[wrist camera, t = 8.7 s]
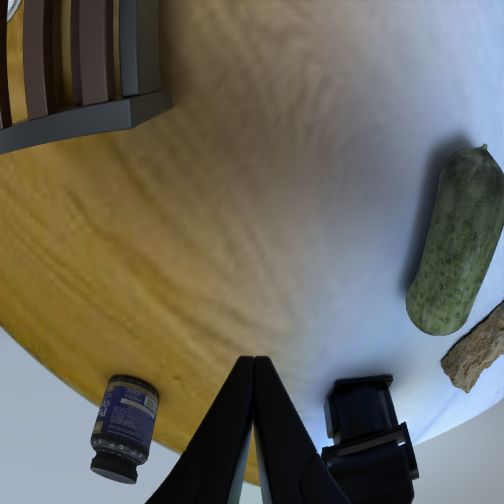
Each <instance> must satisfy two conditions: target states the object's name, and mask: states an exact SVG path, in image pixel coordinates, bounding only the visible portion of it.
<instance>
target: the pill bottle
mask: <svg viewBox="0 0 504 504" xmlns="http://www.w3.org/2000/svg"><path fill="white" fill-rule="evenodd" d="M158 405H159V397H158V394H157V393H156V391H155V390H154V389H153V388H151V387H150V386H149V385H147V384H146V383H144V382H141V381H139V380H136V379H133V378H130V377H123V376H120V377H115V378H112V379H111V380H110V381H109V382H108V385H107V388H106V391H105V394H104V397H103V400H102V403H101V406H100V410H99V413H98V416H97V419H96V423H95V426H94V430H93V433H92V436H91V445H92V447H93V449H94V450H95V451H96V456H95V457H94V458H93V459H92V463H91V467H90V469H91V470H92V471H93V472H95V473H97V474H99V475H101V476H103V477H105V478H108V479H111V480H114V481H117V482H121V483H126V484H135V483H136V481H137V476H138V474H137V471H136V467H137V466H138V465H142V464H144V463H145V462H146V461H147V459H148V456H149V449H150V444H151V440H152V434H153V428H154V424H155V419H156V416H157V409H158Z"/></svg>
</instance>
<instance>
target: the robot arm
mask: <svg viewBox="0 0 504 504" xmlns="http://www.w3.org/2000/svg"><path fill="white" fill-rule="evenodd" d="M392 381H393V377H392V376H391V375H388V376H380V377H372V378H363V379H353V380H342V381H337V382H335V383H334V385H333V388H332V391H331V394H330V395H329V396H328V397H327V400H326V402H325V405H324V413H325V420H326V428H327V436H328V438H333V442H334V446H330V447H328V446H327V447H322V453H321V457H320V455H319V453H317V450H316V448H315V446H314V444H313V442H312V440H311V438H310V436H309V434H308V432H307V430H306V429H305V427H304V425H303V423H302V421H301V419H300V417H299V415H298V413H297V411H296V409H295V407H294V405H293V403H292V401H291V399H290V397H289V395H288V393H287V391H286V389H285V387H284V385H283V383H282V381H281V379H280V377H279V375H278V373H277V371H276V369H275V367H274V365H273V363H272V361H271V359H270V358H269V357H268V356H256V357H255V358H254V357H253V356H240V357H239V358H238V359H237V361H236V363H235V365H234V367H233V368H232V370H231V372H230V374H229V375H228V377H227V379H226V381H225V382H224V384H223V386H222V388H221V389H220V391H219V393H218V395H217V396H216V398H215V400H214V402H213V403H212V405H211V407H210V409H209V410H208V412H207V414H206V415H205V417H204V419H203V420H202V422H201V424H200V426H199V427H198V429H197V431H196V432H195V434H194V436H193V437H192V439H191V441H190V442H189V444H188V446H187V447H186V450H185V451H184V452H183V454H182V455H181V457H180V459H179V460H178V462H177V463H176V465H175V466H174V468H173V469H172V471H171V472H170V474H169V475H168V476H167V478H166V479H165V480H164V481H163V483H162V484H161V485H160V487H159V488H158V489H157V490H156V491H155V492H154V493H153V495H152V496H151V497H150V498H149V499H148V500H147V502H146V503H145V504H239V500H240V495H241V489H242V484H243V478H244V473H245V467H246V461H247V456H248V450H249V444H250V438H251V432H252V425H253V426H254V436H255V445H256V453H257V461H258V469H259V477H260V485H261V493H262V501H263V504H412V501H413V499H414V490H413V484H412V480H415V479H417V478H419V473H418V468H417V463H416V459H415V454H414V451H413V447H412V443H411V439H410V436H409V432H408V429H407V425H406V422H404V423H401V425H399V424H398V420H397V416H396V413H395V409H394V405H393V402H392V398H391V395H390V391H389V386H390V385H391V383H392ZM402 442H405V444H403V445H400V446H398V444H399V443H402Z"/></svg>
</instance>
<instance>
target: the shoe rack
mask: <svg viewBox="0 0 504 504" xmlns="http://www.w3.org/2000/svg"><path fill="white" fill-rule="evenodd" d="M53 6H54V0H24V16H23V66H24V82H25V94H26V104H27V112H28V118H26V119H23V120H20V121H18V122H15V123H13V124H12V118H11V110H10V101H9V91H8V77H7V48H6V42H7V13H8V0H0V155H1V154H5V153H8V152H12V151H16V150H20V149H24V148H28V147H32V146H36V145H40V144H45V143H49V142H54V141H59V140H64V139H69V138H75V137H80V136H86V135H92V134H98V133H105V132H112V131H119V130H127V129H132V128H134V127H136V126H138V125H140V124H142V123H144V122H146V121H148V120H150V119H152V118H154V117H156V116H158V115H160V114H162V113H164V112H166V111H168V110H170V109H172V95H171V89H170V88H168V89H160V69H159V23H158V14H159V0H119V54H120V76H121V91H122V95H117V96H116V92H115V77H114V56H113V0H71V30H70V32H71V68H72V83H73V95H74V104H73V105H69V106H65V107H61V108H57V103H56V92H55V80H54V63H53Z"/></svg>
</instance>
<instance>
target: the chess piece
mask: <svg viewBox="0 0 504 504" xmlns="http://www.w3.org/2000/svg"><path fill="white" fill-rule="evenodd" d="M20 2H21V0H8V13H7V21H8V20H9V19H10V18H11V17H12V15H13V14H14V13H15V11H16V9H17V8H18V6H19V4H20Z"/></svg>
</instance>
